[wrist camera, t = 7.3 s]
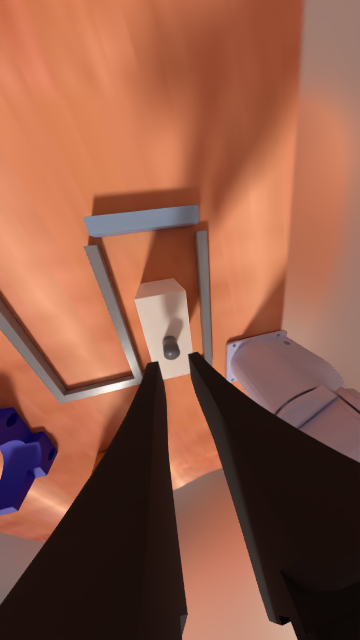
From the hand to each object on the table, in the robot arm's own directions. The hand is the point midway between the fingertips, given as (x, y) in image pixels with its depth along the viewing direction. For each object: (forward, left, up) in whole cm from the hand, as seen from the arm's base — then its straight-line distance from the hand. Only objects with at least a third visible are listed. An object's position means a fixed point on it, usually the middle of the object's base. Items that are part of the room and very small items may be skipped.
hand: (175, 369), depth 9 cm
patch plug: (0, 0, -9) cm, 9 cm away
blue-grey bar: (0, -9, -9) cm, 13 cm away
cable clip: (+23, +14, -9) cm, 29 cm away
